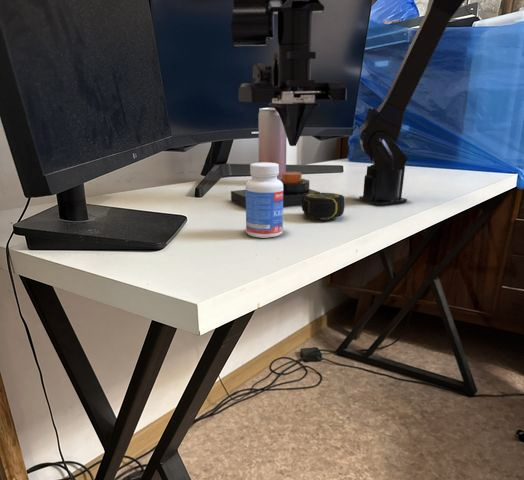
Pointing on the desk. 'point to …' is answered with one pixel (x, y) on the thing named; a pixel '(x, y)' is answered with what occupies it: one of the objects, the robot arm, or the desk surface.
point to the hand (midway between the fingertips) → (292, 145)
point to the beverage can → (272, 139)
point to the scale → (290, 193)
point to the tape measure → (323, 205)
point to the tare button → (291, 177)
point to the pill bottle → (264, 201)
